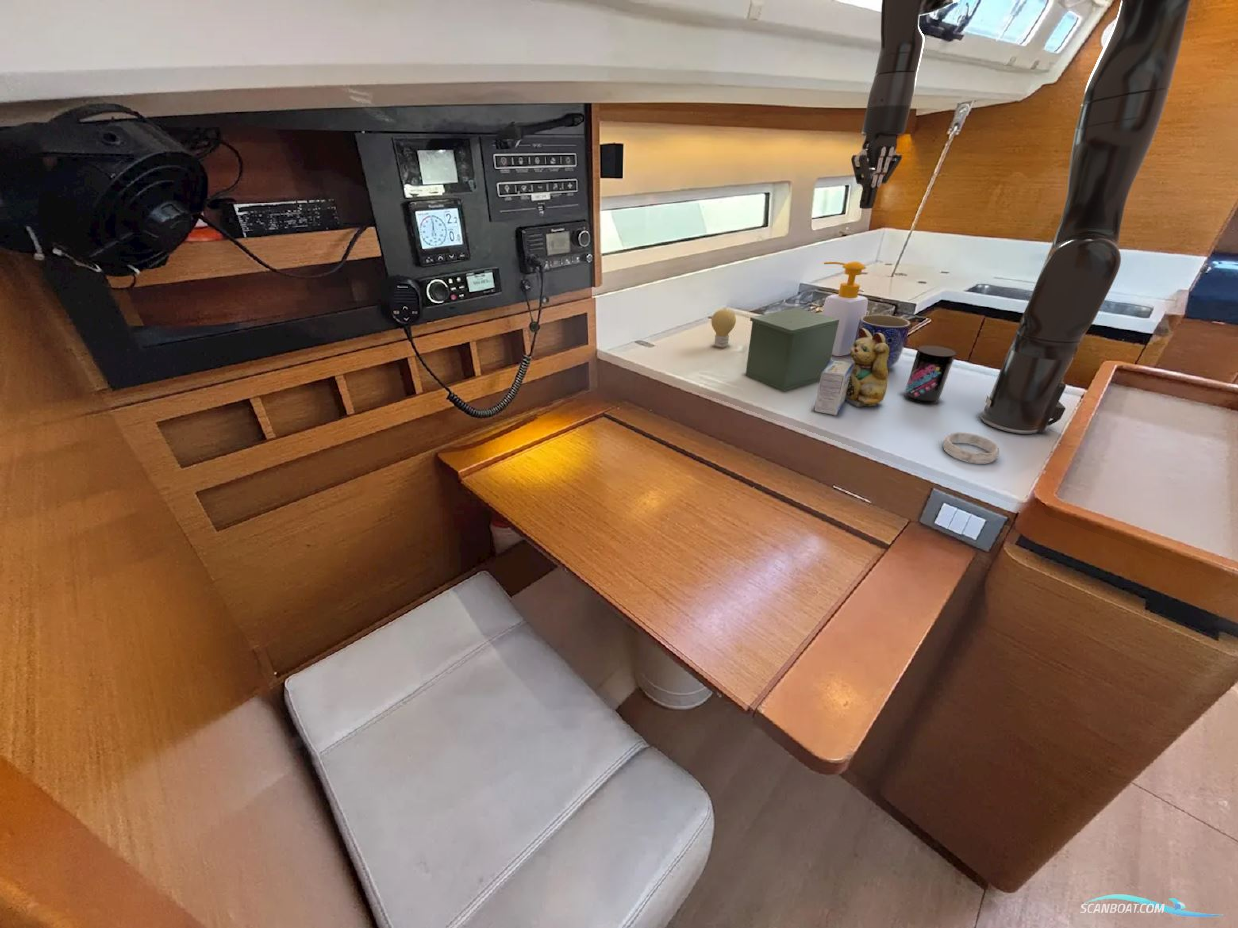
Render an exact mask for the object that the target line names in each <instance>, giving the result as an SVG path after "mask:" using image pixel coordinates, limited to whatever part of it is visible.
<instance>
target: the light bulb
mask: <svg viewBox="0 0 1238 928" xmlns="http://www.w3.org/2000/svg"><path fill="white" fill-rule="evenodd" d="M710 323H711V327H712V329H713V330H714V333H715V334H714V342H713V343H714V346H715V347H717V348H720V349H722V348H726V347H727V346H729V341H730V339H729V338H730V335H729V334H730V333H731V332H732V331H733V329H734V328H735V326H736V323H737V318H736V315H735V313H734V312H733V311H732V310H730V309H727V308H721V309H718V310H717V311H715V312H714V313H713V314H712V317H711V320H710Z"/></svg>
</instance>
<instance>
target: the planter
mask: <svg viewBox="0 0 1238 928" xmlns="http://www.w3.org/2000/svg"><path fill="white" fill-rule="evenodd" d="M910 327H911V322H910V321H909V320H908V319H906V318H903V317H901V316H897V315H896V316H895V315H891V314H890V315H888V314H866V315H865V316H862V317H861V318H860V321H859V324H858V328H857V332H856V337H855V341H856V340H858V339H859V329H860V328H864V329H866V330H867V331H869V332H870V334H871V335H872V337H873V335H874V334H875V333H881V334H883V335H884V337H885V343H886V344H887V345H888V347H889V354H888V359H887V370H889V369H891V368H893V367H894V366H895V365H896V364H897V363H898V362H899V360H900V358H901V356H902V353H903V350H904V347H905V345H906V342H907V339H908V335H909V331H910ZM855 341H854V343H855Z"/></svg>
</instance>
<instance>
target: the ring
mask: <svg viewBox="0 0 1238 928" xmlns="http://www.w3.org/2000/svg"><path fill="white" fill-rule="evenodd" d="M954 443H957V444H966V445H970V446H971V445H972V446H975V447H978V448H981V449H982V450H985V451H987V452H975V451H972V450H967V449H964V448H962V447H959V446H957V445H956V444H954ZM942 445H943V447H942V448H943V449H944V451H945V452H946V453H947V454H948V455H949V456H951V457H952V458H955V459H957V460H960V461H963V462H967V463H970V464H979V465H982V464H983V465H984V464H985V465H986V464H990V463H992V462H994V461H996V459H997V458H998V457H999V455H1000V448H999V446H998V444H996V443H995V442H994V441H993V440H991V439H989V438H987V437H984V436H981V435H978V434H975V433H969V432H953V433H950V434H949V435H947V436H946V437H944V440H943V444H942Z"/></svg>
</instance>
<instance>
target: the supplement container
mask: <svg viewBox="0 0 1238 928" xmlns="http://www.w3.org/2000/svg"><path fill="white" fill-rule="evenodd" d="M956 354H957V352H956V351H955V350H953V349H951V348H948V347H944V346H938V345H921V346H919V347H918V348H917V350H916V354H915V358H914V360H913V364H912V367H911V370H910V374H909V376H908V379H907V383H906V386H905V390H904V396H905V398H906V399H908V400H909V401H912V402H914V403H918V404H923V405H925V404H926V405H930V404H936V403H937V402H939V400H941V396H942V394H943V390H944V388H945V385H946V382H947V379H948V377H949V374H950V370H951V369H952V365H953V363H954V360H955V357H956Z"/></svg>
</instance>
